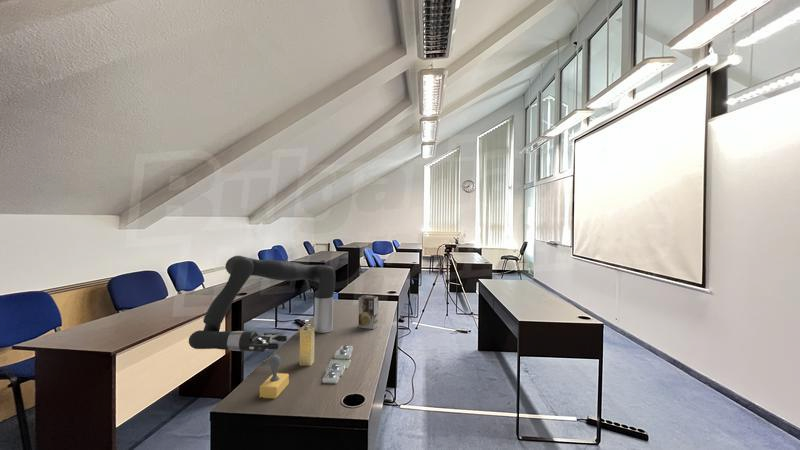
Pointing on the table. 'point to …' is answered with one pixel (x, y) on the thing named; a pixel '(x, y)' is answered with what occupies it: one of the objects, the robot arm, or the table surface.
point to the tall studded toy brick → (307, 345)
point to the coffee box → (368, 311)
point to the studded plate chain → (338, 364)
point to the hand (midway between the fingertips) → (282, 342)
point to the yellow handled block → (274, 380)
